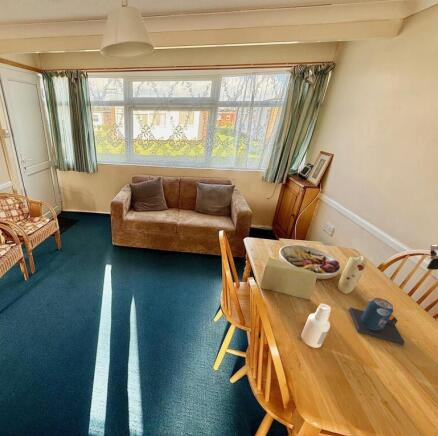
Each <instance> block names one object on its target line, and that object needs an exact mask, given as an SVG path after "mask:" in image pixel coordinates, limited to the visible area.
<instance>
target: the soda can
mask: <svg viewBox="0 0 438 436" xmlns="http://www.w3.org/2000/svg"><path fill="white" fill-rule="evenodd" d="M363 311H364V313H363V315H362V316H361V320H362V323H363V324H364V325H365V326H367V327H368V328H370V329H373V330H380V329H383V327H384V326H385V324H386V323H387V321H388V319H389V318H390V316H391V314H392V315H393V313H394V306H393V304H392V303H391V302H390V301H388V300H386V299H384V298H381V297H374V298H373V299H371V300H369V302H368V303H367V306H366V307H365V309H364V310H363Z"/></svg>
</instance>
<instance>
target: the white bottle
mask: <svg viewBox="0 0 438 436" xmlns="http://www.w3.org/2000/svg"><path fill="white" fill-rule="evenodd" d="M331 312H332V308H331V306H330V305H328V304H326V303H319V306H318V307H317V308H316V310H315V312H314V313H310V314H309V315H308V317H307V319H306V321H305V325H304V326H303V329H302V331H301V335H300V337H301V340H302V342H303V343H304V344H306V345H307V346H309V347H311V348H315V349H316V348H317V349H318V348H321V346H322V345H323V343H324V340H325V339H326V337H327V334H328V332H329V330H330V328H331V322H330V321H329V317H330V315H331Z"/></svg>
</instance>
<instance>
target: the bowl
mask: <svg viewBox="0 0 438 436" xmlns="http://www.w3.org/2000/svg"><path fill="white" fill-rule="evenodd" d="M278 257H279V261H281V262H284V263H286V264H290V265H293V266H296V267H299V268H303V269H306V270H310V271H313V272H315V273H316V274H317V278H316V280H327V279H331V278H335V277H336V276H337V275H338V274H339V273H340V271H341V265H340V262H339V261H337V259H336V258H334V257H333V256H331V255H330V254H328V253H326V252H324V251H322V250H319V249H317V248H315V247H310V246H306V245H301V244H288V245H284V246H282V247H281V248H280V249H279V252H278Z"/></svg>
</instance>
